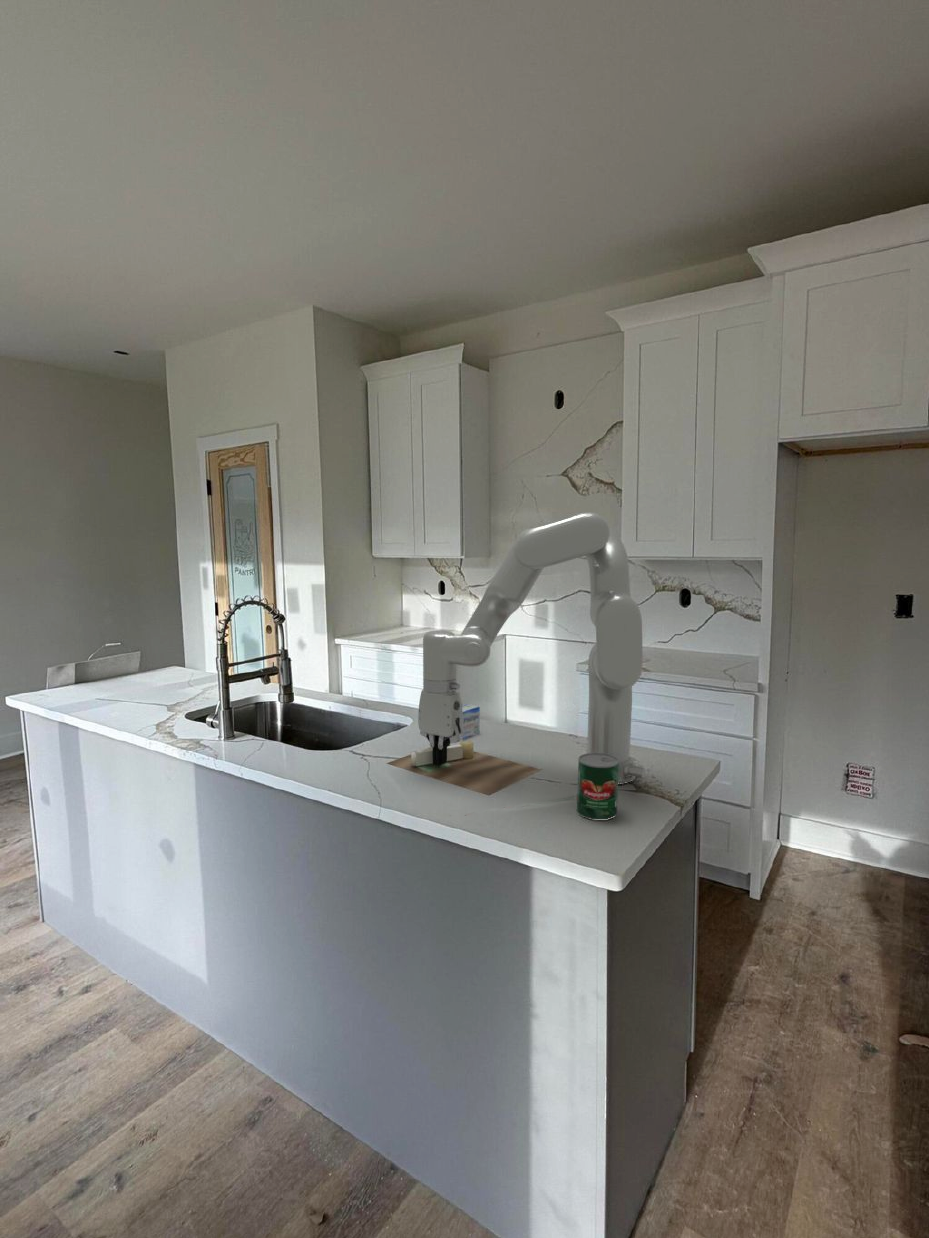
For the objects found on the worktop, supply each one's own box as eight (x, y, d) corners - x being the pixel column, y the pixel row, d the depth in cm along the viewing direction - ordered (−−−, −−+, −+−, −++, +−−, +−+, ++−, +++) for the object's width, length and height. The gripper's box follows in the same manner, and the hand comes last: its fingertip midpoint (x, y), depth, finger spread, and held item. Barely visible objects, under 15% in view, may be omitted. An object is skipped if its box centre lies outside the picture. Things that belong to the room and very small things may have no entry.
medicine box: (462, 744, 179) (462, 712, 178) (448, 741, 181) (448, 709, 180) (479, 737, 185) (480, 706, 184) (466, 734, 188) (466, 703, 187)
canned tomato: (587, 823, 132) (588, 767, 130) (570, 806, 139) (571, 754, 138) (624, 818, 134) (626, 764, 132) (605, 803, 141) (607, 751, 140)
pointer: (469, 753, 167) (469, 739, 166) (475, 757, 164) (475, 743, 164) (408, 763, 160) (408, 749, 159) (414, 767, 157) (414, 753, 156)
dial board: (541, 774, 158) (541, 768, 157) (488, 800, 142) (489, 794, 142) (442, 747, 176) (442, 742, 176) (386, 768, 161) (386, 762, 161)
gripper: (476, 687, 154) (475, 765, 157) (424, 678, 163) (424, 753, 165) (456, 693, 148) (456, 775, 151) (403, 684, 157) (404, 761, 159)
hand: (439, 763), depth 158 cm, fingers closed
